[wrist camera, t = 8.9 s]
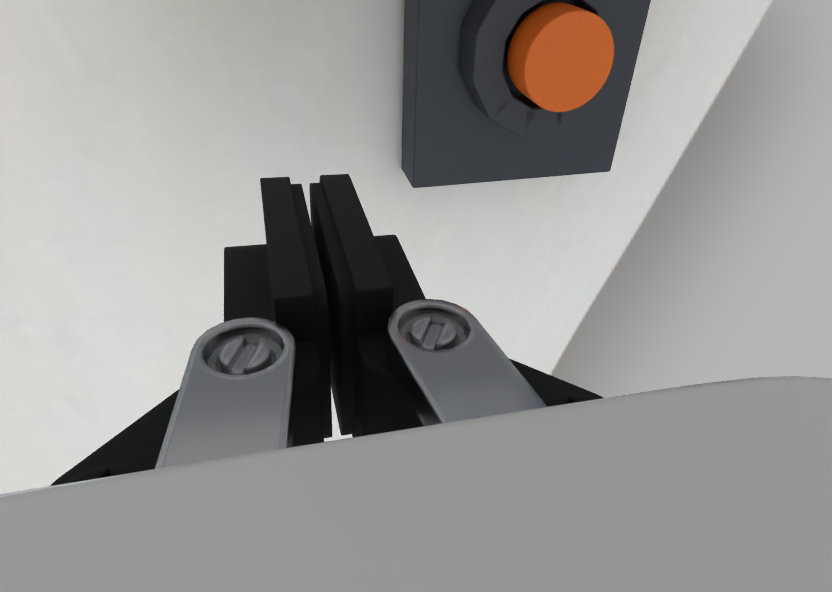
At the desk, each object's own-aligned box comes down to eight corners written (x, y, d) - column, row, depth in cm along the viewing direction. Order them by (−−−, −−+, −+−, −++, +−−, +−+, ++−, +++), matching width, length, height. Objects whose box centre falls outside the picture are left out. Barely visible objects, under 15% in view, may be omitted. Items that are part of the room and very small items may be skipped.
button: (513, 2, 21) (532, 11, 20) (600, 1, 22) (625, 10, 21) (501, 101, 24) (518, 115, 22) (581, 97, 24) (603, 110, 23)
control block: (406, -143, 21) (438, -146, 18) (649, -132, 23) (715, -132, 20) (401, 169, 28) (423, 206, 25) (588, 155, 30) (630, 187, 27)
